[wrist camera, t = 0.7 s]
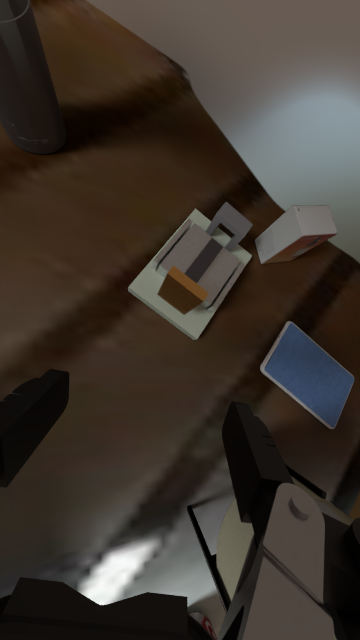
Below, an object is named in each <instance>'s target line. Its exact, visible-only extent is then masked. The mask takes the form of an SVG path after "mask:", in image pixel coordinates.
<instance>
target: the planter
mask: <svg viewBox="0 0 360 640" xmlns="http://www.w3.org/2000/svg"><path fill="white" fill-rule="evenodd" d="M285 465H286V464H285ZM286 467H287V469H288V471H289V473H290V475H291V478H292V480H293V482H294V484H295V485H296V486H298V487H299V488H301V489H302V490H304V491H305V492H306V493H307V494H308V495H309V496H310V497H311V498H312V499H313V500H314V501H315V503H316V504H317V506H318V507H319V509H320V511H321V512H323V513H324V514H326V515H329V516H331V517H333V518H335V519H337V520H339V521H341V522H343V523H345V524H347V525H349V526H350V525H351V523H352V522H353V521H354V520H353V519H352V518H351V517H349V516H348V515H347V514H345V513H344V512H343V511H341V510H340V509H338V508H337V507H336V506H334V505H333V504H332V503H330V502H329V501H328V500H326V492H324V491H323V490H321V489H320V488H318V487H317V486H316V485H314V484H313V483H311V482H310V481H308V480H307V479H306V478H304V477H303V476H301V475H300V474H298V473H297V472H296V471H294V470H293V469H291V468H290V467H288V466H287V465H286ZM187 511H188V514H189V516H190V519H191V522H192V524H193V527H194V530H195V532H196V535H197V538H198V540H199V543H200V546H201V548H202V551H203V554H204V556H205V559H206V562H207V564H208V567H209V570H210V572H211V575H212V577H213V580H214V583H215V585H216V588H217V591H218V593H219V596H220V599H221V601H222V604H223V607H224V609H225V612H226V614H227V612H228V609H229V607H230V604H231V602H232V599H233V596H234V593H235V590H236V587H237V583H238V580H239V577H240V574H241V571H242V568H243V564H244V561H245V558H246V555H247V552H248V549H249V545H250V542H251V539H252V537H253V535H254V531H253V527H252V524H251V523H243V522H241V520H240V516H239V511H238V507H237V502H236V498H234V500H233V501H232V503H231V505H230V506H229V508H228V510H227V512H226V514H225V517H224V519H223V522H222V525H221V528H220V532H219V537H218V543H217V554H215V555H212V556H211V553H210V551H209V549H208V546H207V544H206V541H205V539H204V536H203V534H202V532H201V529H200V527H199V524H198V522H197V519H196V517H195V515H194V512H193V510H192V507H191V506H188V507H187ZM216 567H217V568H216ZM334 640H337V639H336V636H335V634H334Z"/></svg>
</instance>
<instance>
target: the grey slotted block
mask: <svg viewBox="0 0 360 640" xmlns="http://www.w3.org/2000/svg"><path fill="white" fill-rule="evenodd" d="M192 222H193V221H192V220H191V219H190V218H189V219H188V220H187V221H186V222H185V223H184V225H183V226H182V227H181V228H180V229H179V230H178V232H177V233H176V234H175V235H174V236H173V237H172V239H171V240H170V241H169V242H168V243H167V245H166V246H165V247H164V248H163V249H162V250H161V252H160V253H159V254H158V255H157V256H156V257H155V259H154V260H153V263H152V267H151V268H152V269H153V270H154V271H156V269H157V268H158V267H159V268H158V271H157V273H158V274H159V275H161V276H162V277H163V278H165V277H166V275H167V273H168V272H169V270H170V269H171V268H172V267H173V265H174V266H175V267H176V268H178V269H179V270H180V271H181V272H183V273H185V272H186V271H187V269H188V268H189V267H190V266H191V264H192V263H193V262H194V260H195V259H196V258H197V256H198V255H199V254H200V253H201V251H202V250H203V249H204V247H205V246H206V245H207V243H208V242H209V241H210V239H211V238H213V237H211V236H210V235H209V234H208V233H207V232H205V231H204V230H203V229H202V228H200V227H199V226H198V225H197V224H196V223H194V224H193V225H192V227H191V228H190V226H191V224H192ZM189 228H190V229H189ZM213 239H214V238H213ZM214 240H215V239H214ZM215 241H216V240H215ZM218 243H219V242H218ZM219 244H220V243H219ZM220 245H221V244H220ZM221 246H222V245H221ZM239 262H240V260H239V259H238V258H237V257H236V256H234V255H233V254H232V253H231V252H230V251H228V250H227V249H226V248H225V247H223V248H222V250H221V251H220V252H219V254H218V255H217V256H216V258H215V259H214V261H213V262H212V263H211V265H210V266H209V267H208V269H207V270H206V272H205V273H204V274H203V276H202V277H201V278H200V280H199V281H198V283H197V284H198V285H199V286H200V287H202V288H203V289H204V290H205V291H207V292H208V293H209V294H208V296H207V297H206V299H205V300H204V302H202V303H201V304H199V306H201V307H202V308H203V309H204V308H206V307H207V309H206V311H207V312H208V313H210V312H212V311H214V310H216V309H217V308H218V306H219V305H220V303H221V302H222V300H223V298H224V297H225V295H226V294H227V292H228V291H229V289H230V288H231V286H232V285H233V283H234V282H235V280H236V279H237V277H238V276H239V274H240V273H241V271H242V270H243V268H244V267H245V264H244V263H243V262H241V263H240V264H239V265H238V263H239ZM237 265H238V266H237ZM236 266H237V267H236Z"/></svg>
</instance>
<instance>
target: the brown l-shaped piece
mask: <svg viewBox="0 0 360 640" xmlns="http://www.w3.org/2000/svg"><path fill="white" fill-rule="evenodd" d="M222 248H223V246H221V245H220V244H219V243H218V242H217V241H215V240H214V239H213V238H211V239H210V241H209V242H208V243H207V245H206V246H205V247H204V249H203V250H202V251H201V253H200V254H199V255H198V256H197V258H196V259H195V260H194V262H193V263H192V264H191V266H190V267H189V268H188V269H187V271H186V272H185V273H183V272H181V271H180V270H179V269H178V268H176V267H175V266H174V265H173V267H172V268H171V269H170V270H169V272H168V273H167V275H166V277H165V279H164V281H163V283H162V285H161V287H160V289H159V292H158V294H157V295H158V296H160V297H161V298H162V299H164V300H165V301H166V302H168V303H169V304H170V305H171V306H173V307H174V308H175V309H177V310H178V311H179V312H181V313H182V314H183V315H185V314H187V313H188V312H189V311H191V310H192V309H194V308H195V307H196V306H198V305H199V304H201V303H202V302H204V300H205V299H206V297H207V296H208V294H209V293H208V292H207V291H205V290H204V289H203V288H202V287H200V286H199V285H198V284H197V283H198V281H199V280H200V278H201V277H202V276H203V274H204V273H205V272H206V270H207V269H208V267H209V266H210V265H211V263H212V262H213V261H214V259H215V258H216V256H217V255H218V254H219V252H220V251H221V250H222Z"/></svg>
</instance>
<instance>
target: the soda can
mask: <svg viewBox="0 0 360 640" xmlns="http://www.w3.org/2000/svg"><path fill="white" fill-rule="evenodd" d="M189 615H190V616H192V617H193V618H194V619H195V620H197V621H198V622H199V623H200V624H201V625H202V626H203V627H204V628H205V629H206V630H207V631H208V632H209V633H210V635H211V636H212V637H213V639H214V640H217V637H216V635H215V632H214V630H213V627H212V625H211V622H210V621H209V619H208V618H207V617H206V616H205V615H204V614H202V613H198V612H194V613H190V614H189Z"/></svg>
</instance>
